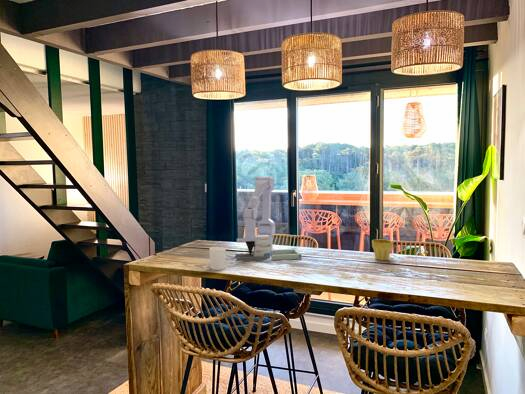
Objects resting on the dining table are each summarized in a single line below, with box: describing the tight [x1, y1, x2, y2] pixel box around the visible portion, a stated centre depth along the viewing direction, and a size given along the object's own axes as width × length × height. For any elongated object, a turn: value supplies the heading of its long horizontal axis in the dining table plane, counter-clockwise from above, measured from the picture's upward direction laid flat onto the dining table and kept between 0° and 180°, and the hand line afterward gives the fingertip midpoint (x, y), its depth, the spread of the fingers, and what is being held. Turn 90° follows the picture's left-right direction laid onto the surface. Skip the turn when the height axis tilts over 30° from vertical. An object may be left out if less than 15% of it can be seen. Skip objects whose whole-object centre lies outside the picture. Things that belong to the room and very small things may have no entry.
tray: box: [270, 248, 302, 261], centre depth 222 cm, size 14×16×2 cm
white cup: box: [209, 246, 226, 271], centre depth 196 cm, size 8×8×10 cm
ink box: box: [253, 234, 271, 258], centre depth 221 cm, size 8×5×12 cm, turn 100°
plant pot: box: [371, 238, 393, 261], centre depth 214 cm, size 10×10×10 cm
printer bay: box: [234, 252, 267, 261], centre depth 219 cm, size 9×16×2 cm, turn 98°
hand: (250, 255), depth 219 cm, fingers closed
